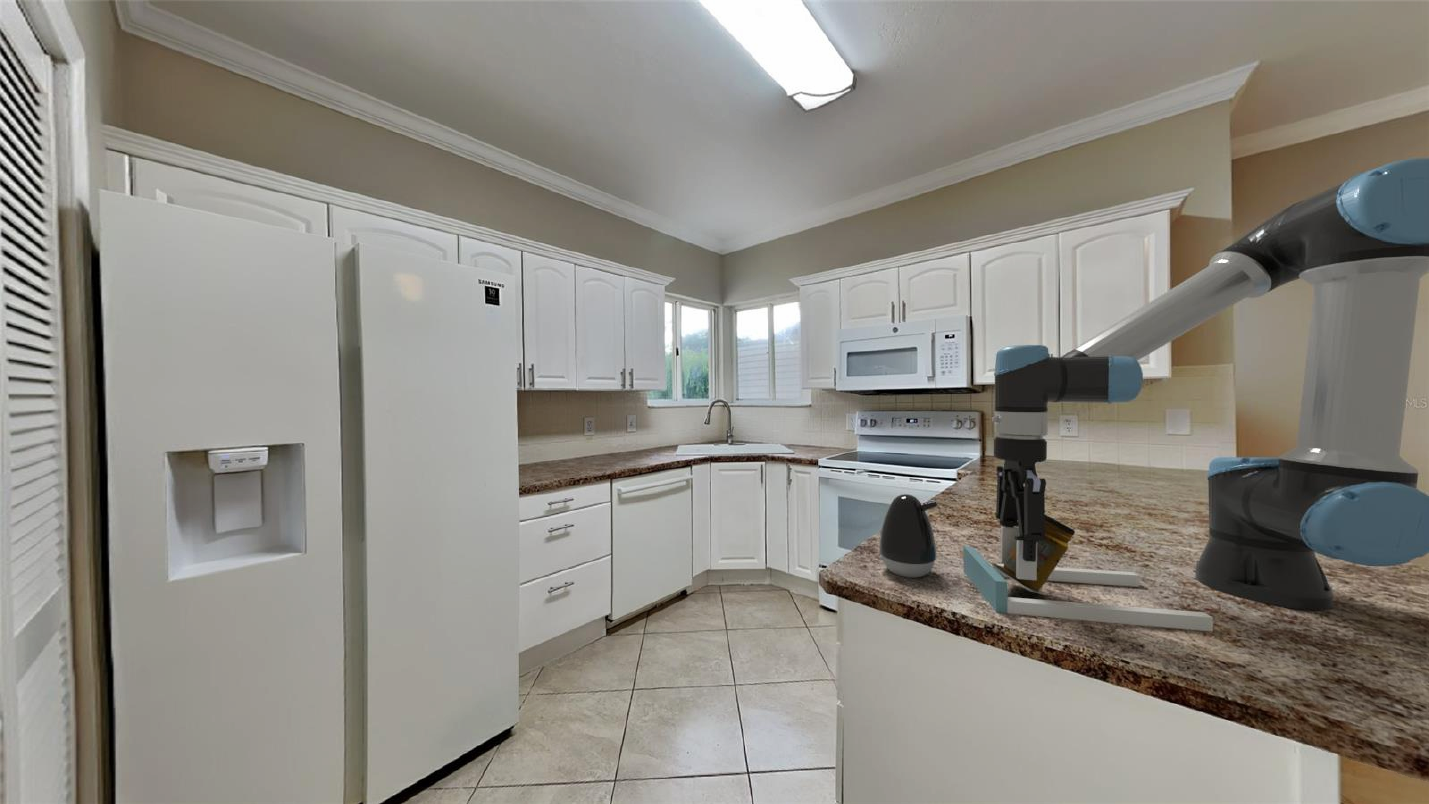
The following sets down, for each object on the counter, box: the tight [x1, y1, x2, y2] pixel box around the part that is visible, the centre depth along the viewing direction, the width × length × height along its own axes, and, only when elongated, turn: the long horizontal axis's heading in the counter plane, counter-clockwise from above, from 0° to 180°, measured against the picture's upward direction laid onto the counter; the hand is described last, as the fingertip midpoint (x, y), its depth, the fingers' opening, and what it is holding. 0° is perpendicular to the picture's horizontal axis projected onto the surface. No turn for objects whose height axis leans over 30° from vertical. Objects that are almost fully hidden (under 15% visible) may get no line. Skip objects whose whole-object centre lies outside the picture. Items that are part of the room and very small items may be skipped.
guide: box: [962, 545, 1214, 633], centre depth 76 cm, size 28×17×5 cm, turn 76°
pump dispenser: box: [878, 493, 938, 579], centre depth 88 cm, size 10×10×15 cm
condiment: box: [988, 514, 1076, 596], centre depth 77 cm, size 7×8×12 cm
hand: (1017, 570), depth 78 cm, fingers closed on condiment, 6 cm apart
